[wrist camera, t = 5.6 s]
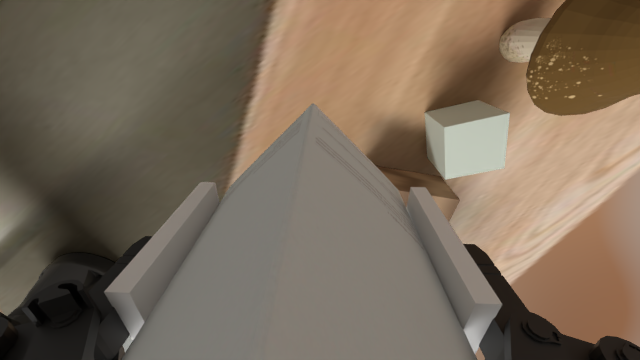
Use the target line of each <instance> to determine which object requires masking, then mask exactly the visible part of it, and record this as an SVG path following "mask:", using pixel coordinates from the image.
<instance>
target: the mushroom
mask: <svg viewBox="0 0 640 360" xmlns="http://www.w3.org/2000/svg"><path fill="white" fill-rule="evenodd" d="M499 50H500V52H501V54H502V56H503V58H505V59H506V60H508V61H509V62H516V63H518V62H528V61H529V65H528V69H527V73H526V78H527V90H528V93H529V95H530V97H531V99H532V101H533V103H534V105H536V106H537V107H539V108H540V109H541V110H543V111H544V112H546V113H551V114H555V115H560V116H562V115H577V114H586V113H589V112H593V111H596V110H600V109H603V108H606V107H608V106H610V105H613V104H615V103H617V102H619V101H621V100H624V99H626V98H628V97H631V96H634V95H638V94H640V0H566V1H565V2H564V3H563V4H562V5H561V6H560V7H559V8H558V9H557V11H556V12H555V13H554V15H553V16H552V18H534V19H529V20H524V21H520V22H518V23H516V24H514V25H512V26H511V27H510V28H509V29H508V30H507V31H506V32H505V33H504V34H503V35H502V36H501V38H500V42H499Z"/></svg>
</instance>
